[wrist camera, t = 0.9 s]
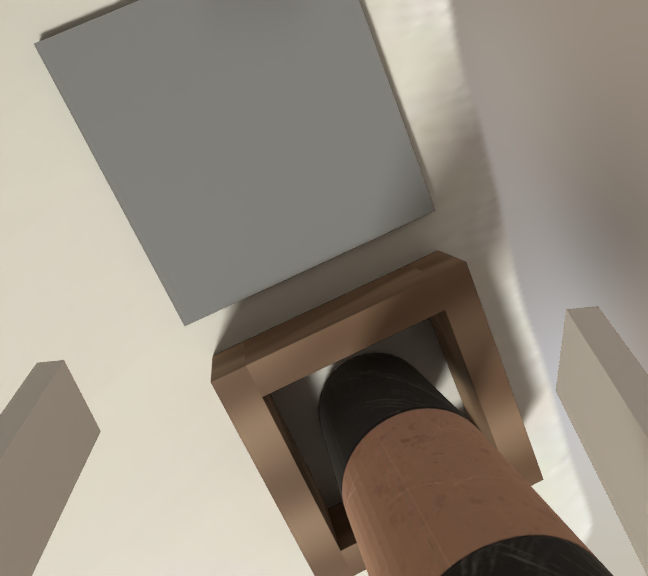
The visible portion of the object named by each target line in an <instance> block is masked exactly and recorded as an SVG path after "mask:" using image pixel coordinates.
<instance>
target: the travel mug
mask: <svg viewBox="0 0 648 576" xmlns="http://www.w3.org/2000/svg"><path fill="white" fill-rule="evenodd" d="M319 419H320V424H321V428H322V432H323V435H324V439H325V442H326V445H327V449H328V452H329V456H330V459H331V463H332V466H333V470H334V473H335V476H336V480H337V483H338V487H339V490H340V494H341V497H342V500H343V504H344V507H345V510H346V514H347V516H348V519H349V522H350V525H351V527H352V530H353V533H354V536H355V539H356V541H357V544H358V547H359V550H360V552H361V555H362V558H363V561H364V564H365V566H366V569H367V572H368V575H369V576H613V575H612V574H611V573H610V572H609V571H608V569H607V568H606V567H605V566H604V565H603V564H602V563H601V562H600V561H599V560H598V559H597V557H595V555H594V554H593V553H592V552H591V551H590V550H589V549H588V548H587V547H586V546H585V544H584V543H583V542H582V541H581V540H580V539H579V538H578V537H577V536H576V535H575V534H574V533H573V531H572V530H571V529H570V528H569V527H568V526H567V525H566V524H565V523H564V522H563V521H562V520H561V518H560V517H559V516H558V515H557V514H556V513H555V512H554V511H553V510H552V509H551V508H550V506H549V505H548V504H547V503H546V502H545V501H544V500H543V499H542V498H541V497H540V496H539V495H538V493H537V492H536V491H535V490H534V489H533V488H532V487H531V486H530V485H529V484H528V483H527V482H526V480H525V479H524V478H523V477H522V476H521V475H520V474H519V473H518V472H517V471H516V470H515V468H514V467H513V466H512V465H511V464H510V463H509V462H508V461H507V460H506V459H505V458H504V457H503V455H502V454H501V453H500V452H499V451H498V450H497V449H496V448H495V447H494V446H493V445H492V444H491V442H490V441H489V440H488V439H487V438H486V437H485V436H484V435H483V434H482V433H481V432H480V431H479V429H478V428H476V427H475V425H473V424H472V423H471V422H470V421H469V420H468V419H467V418H466V417H465V416H464V415H463V414H462V413H461V412H460V411H459V410H458V409H457V408H456V407H455V406H454V405H453V404H452V403H451V402H449V401H448V400H447V399H446V398H445V397H444V396H443V395H442V394H441V393H440V392H439V391H438V390H437V389H436V388H435V387H434V386H433V385H432V384H431V383H430V382H429V381H428V380H427V379H425V378H424V377H423V376H422V375H421V374H420V373H419V372H418V371H417V370H416V369H415V368H414V367H413V366H411V365H410V364H409V363H407V362H406V361H404V360H403V359H401V358H399V357H396V356H393V355H389V354H383V353H370V354H365V355H361V356H358V357H355V358H353V359H351V360H349V361H347V362H346V363H344V364H343V365H342V366H340V367H339V368H338V369H337V370H336V371H335V372H334V373H333V374H332V375H331V376H330V378H329V379H328V381H327V382H326V384H325V386H324V388H323V391H322V393H321V397H320V401H319Z"/></svg>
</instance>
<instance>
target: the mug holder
mask: <svg viewBox="0 0 648 576" xmlns="http://www.w3.org/2000/svg"><path fill="white" fill-rule="evenodd" d="M429 317H430V320H431V323H432V325H433V328H434V330H435V333H436V335H437V338H438V341H439V343H440V346H441V348H442V351H443V353H444V356H445V359H446V361H447V364H448V366H449V369H450V371H451V374H452V377H453V379H454V382H455V384H456V387H457V389H458V392H459V395H460V397H461V400H462V402H463V405H464V407H465V410H466V413H467V415H468V418H469V420H470V422H471V423H472V424H473V425H475V427H476V428H478V429H479V431H480V432H481V433H482V434H483V435H484V436H485V437H486V438H487V439H488V440H489V441H490V442H491V444H492V445H493V446H494V447H495V448H496V449H497V450H498V451H499V452H500V453H501V454H502V455H503V457H504V458H505V459H506V460H507V461H508V462H509V463H510V464H511V465H512V466H513V467H514V468H515V470H516V471H517V472H518V473H519V474H520V475H521V476H522V477H523V478H524V479H525V480H526V482H527V483H528V484H529V485H530V486H532V485H534V484H536V483H538V482H540V481H541V480H543V477H542V474H541V471H540V468H539V466H538V463H537V460H536V457H535V454H534V452H533V449H532V446H531V443H530V440H529V438H528V435H527V432H526V429H525V426H524V423H523V421H522V418H521V415H520V412H519V409H518V407H517V404H516V401H515V398H514V395H513V393H512V390H511V387H510V384H509V381H508V378H507V376H506V373H505V370H504V367H503V364H502V362H501V359H500V356H499V353H498V350H497V348H496V345H495V342H494V339H493V336H492V334H491V331H490V328H489V325H488V322H487V319H486V317H485V314H484V311H483V308H482V305H481V303H480V300H479V297H478V294H477V291H476V289H475V286H474V283H473V280H472V277H471V274H470V272H469V269H468V266H467V263H466V262H465V261H462V260H460V259H458V258H455V257H453V256H450V255H448V254H445V253H443V252H440V251H436V252H434V253H432V254H430V255H428V256H425V257H423V258H421V259H419V260H417V261H415V262H413V263H410V264H408V265H406V266H404V267H402V268H400V269H398V270H396V271H393V272H391V273H389V274H387V275H385V276H383V277H381V278H378V279H376V280H374V281H372V282H370V283H368V284H366V285H363V286H361V287H359V288H357V289H355V290H353V291H351V292H348V293H346V294H344V295H342V296H340V297H338V298H336V299H334V300H331V301H329V302H327V303H325V304H323V305H321V306H319V307H316V308H314V309H312V310H310V311H308V312H306V313H304V314H301V315H299V316H297V317H295V318H293V319H291V320H289V321H287V322H284V323H282V324H280V325H278V326H276V327H274V328H272V329H269V330H267V331H265V332H263V333H261V334H259V335H257V336H254V337H252V338H250V339H248V340H246V341H244V342H242V343H239V344H237V345H235V346H233V347H231V348H229V349H227V350H225V351H222V352H220V353H218V354H216V355H214V356H213V359H212V373H211V384H212V385H213V387H214V389H215V391H216V393H217V395H218V397H219V398H220V400H221V402H222V404H223V406H224V408H225V410H226V412H227V413H228V415H229V417H230V419H231V421H232V423H233V425H234V426H235V428H236V430H237V432H238V434H239V436H240V438H241V439H242V441H243V443H244V445H245V447H246V449H247V451H248V452H249V454H250V456H251V458H252V460H253V462H254V464H255V466H256V467H257V469H258V471H259V473H260V475H261V477H262V479H263V480H264V482H265V484H266V486H267V488H268V490H269V492H270V493H271V495H272V497H273V499H274V501H275V503H276V505H277V506H278V508H279V510H280V512H281V514H282V516H283V518H284V520H285V521H286V523H287V525H288V527H289V529H290V531H291V533H292V534H293V536H294V538H295V540H296V542H297V544H298V546H299V547H300V549H301V551H302V553H303V555H304V557H305V559H306V560H307V562H308V564H309V566H310V568H311V570H312V572H313V573H314V575H315V576H354V575H356V574H358V573H360V572H362V571H364V570H366V566H365V564H364V561H363V558H362V555H361V552H360V550H359V547H358V544H357V541H356V539H355V536H354V533H353V530H352V527H351V525H350V522H349V519H348V516H347V514H346V510H345V507H344V504H343V502H342V503H340V504H338V505H336V506H334V507H332V508H330V509H328V508H327V506H326V504H325V502H324V500H323V498H322V496H321V494H320V492H319V490H318V488H317V486H316V484H315V482H314V480H313V478H312V476H311V474H310V472H309V470H308V468H307V466H306V464H305V462H304V460H303V458H302V456H301V454H300V452H299V450H298V448H297V446H296V444H295V442H294V440H293V439H292V437H291V435H290V433H289V431H288V429H287V427H286V425H285V423H284V421H283V419H282V417H281V415H280V413H279V411H278V409H277V407H276V405H275V403H274V401H273V399H272V397H271V395H270V393H272V392H274V391H276V390H278V389H280V388H282V387H284V386H287V385H289V384H291V383H293V382H295V381H297V380H299V379H301V378H303V377H305V376H308V375H310V374H312V373H314V372H316V371H318V370H320V369H322V368H324V367H326V366H329V365H331V364H333V363H335V362H337V361H339V360H341V359H343V358H345V357H347V356H349V355H352V354H354V353H356V352H358V351H360V350H362V349H364V348H366V347H368V346H370V345H373V344H375V343H377V342H379V341H381V340H383V339H385V338H387V337H389V336H391V335H394V334H396V333H398V332H400V331H402V330H404V329H406V328H408V327H410V326H412V325H415V324H417V323H419V322H421V321H423V320H425V319H427V318H429Z"/></svg>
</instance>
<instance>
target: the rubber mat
mask: <svg viewBox="0 0 648 576" xmlns="http://www.w3.org/2000/svg"><path fill="white" fill-rule="evenodd" d="M34 45H35V47H36V49H37V51H38V53H39V55H40V56H41V58H42V60H43V62H44V64H45V66H46V68H47V70H48V71H49V73H50V75H51V77H52V79H53V81H54V83H55V85H56V86H57V88H58V90H59V92H60V94H61V96H62V98H63V99H64V101H65V103H66V105H67V107H68V109H69V111H70V113H71V114H72V116H73V118H74V120H75V122H76V124H77V126H78V128H79V129H80V131H81V133H82V135H83V137H84V139H85V141H86V142H87V144H88V146H89V148H90V150H91V152H92V154H93V156H94V157H95V159H96V161H97V163H98V165H99V167H100V169H101V171H102V172H103V174H104V176H105V178H106V180H107V182H108V184H109V185H110V187H111V189H112V191H113V193H114V195H115V197H116V199H117V200H118V202H119V204H120V206H121V208H122V210H123V212H124V214H125V215H126V217H127V219H128V221H129V223H130V225H131V227H132V228H133V230H134V232H135V234H136V236H137V238H138V240H139V242H140V243H141V245H142V247H143V249H144V251H145V253H146V255H147V257H148V258H149V260H150V262H151V264H152V266H153V268H154V270H155V272H156V273H157V275H158V277H159V279H160V281H161V283H162V285H163V286H164V288H165V290H166V292H167V294H168V296H169V298H170V300H171V301H172V303H173V305H174V307H175V309H176V311H177V313H178V315H179V316H180V318H181V320H182V322H183V324H184V326H186V325H189V324H191V323H193V322H195V321H197V320H199V319H202V318H204V317H206V316H208V315H210V314H212V313H214V312H217V311H219V310H221V309H223V308H225V307H227V306H230V305H232V304H234V303H236V302H238V301H240V300H243V299H245V298H247V297H249V296H251V295H253V294H256V293H258V292H260V291H262V290H264V289H266V288H269V287H271V286H273V285H275V284H277V283H279V282H282V281H284V280H286V279H288V278H290V277H292V276H295V275H297V274H299V273H301V272H303V271H305V270H308V269H310V268H312V267H314V266H316V265H318V264H321V263H323V262H325V261H327V260H329V259H331V258H334V257H336V256H338V255H340V254H342V253H344V252H347V251H349V250H351V249H353V248H355V247H357V246H360V245H362V244H364V243H366V242H368V241H370V240H372V239H375V238H377V237H379V236H381V235H383V234H385V233H388V232H390V231H392V230H394V229H396V228H398V227H401V226H403V225H405V224H407V223H409V222H411V221H414V220H416V219H418V218H420V217H422V216H424V215H427V214H429V213H431V212H433V211H435V208H434V205H433V202H432V200H431V197H430V194H429V191H428V189H427V186H426V183H425V180H424V177H423V175H422V172H421V169H420V166H419V164H418V161H417V158H416V155H415V153H414V150H413V147H412V144H411V142H410V139H409V136H408V133H407V131H406V128H405V125H404V122H403V120H402V117H401V114H400V111H399V109H398V106H397V103H396V100H395V97H394V95H393V92H392V89H391V86H390V84H389V81H388V78H387V75H386V73H385V70H384V67H383V64H382V62H381V59H380V56H379V53H378V51H377V48H376V45H375V42H374V40H373V37H372V34H371V31H370V29H369V26H368V23H367V20H366V17H365V15H364V12H363V9H362V6H361V4H360V1H359V0H138V1H136V2H133V3H131V4H129V5H126V6H124V7H121V8H119V9H116V10H114V11H112V12H109V13H107V14H104V15H102V16H100V17H97V18H95V19H92V20H90V21H88V22H85V23H83V24H80V25H78V26H76V27H73V28H71V29H68V30H66V31H64V32H61V33H59V34H56V35H54V36H52V37H49V38H47V39H44V40H42V41H40V42H37V43H35V44H34Z"/></svg>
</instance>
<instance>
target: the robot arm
mask: <svg viewBox="0 0 648 576" xmlns="http://www.w3.org/2000/svg"><path fill="white" fill-rule="evenodd" d="M556 392H557V394H558V396H559V398H560V400H561V402H562V404H563V406H564V408H565V410H566V412H567V415H568V417H569V418H570V420H571V423H572V425H573V426H574V429H575V431H576V433H577V434H578V437H579V439H580V441H581V443H582V445H583V447H584V449H585V451H586V453H587V455H588V457H589V459H590V461H591V463H592V465H593V467H594V469H595V471H596V473H597V475H598V477H599V479H600V481H601V483H602V485H603V487H604V489H605V491H606V493H607V495H608V497H609V499H610V501H611V503H612V505H613V507H614V509H615V511H616V513H617V515H618V517H619V519H620V521H621V523H622V525H623V527H624V529H625V531H626V533H627V535H628V537H629V539H630V541H631V543H632V546H633V548H634V549H635V552H636V554H637V556H638V558H639V560H640V562H641V564H642V565H643V568H644V570H645V572H646V574H647V576H648V374H647V373H646V371H645V370H644V369H643V368H642V366H641V365H640V363H639V362H638V361H637V359H636V358H635V356H634V355H633V354H632V352H631V351H630V350H629V348H628V347H627V345H626V344H625V343H624V341H623V340H622V339H621V337H620V336H619V334H618V333H617V332H616V330H615V329H614V327H613V326H612V325H611V323H610V322H609V321H608V319H607V318H606V316H605V315H604V314H603V312H602V311H601V310H600V308H599V307H598V306H597V307H586V308H576V309H566V315H565V322H564V331H563V338H562V347H561V354H560V362H559V370H558V378H557V385H556ZM99 434H100V429H99V427H98V425H97V423H96V421H95V419H94V417H93V415H92V414H91V412H90V410H89V408H88V406H87V404H86V402H85V400H84V398H83V396H82V394H81V392H80V390H79V388H78V386H77V384H76V383H75V381H74V379H73V377H72V375H71V373H70V371H69V369H68V367H67V365H66V363H65V361H64V360H60V361H50V362H40V363H37V364H36V365H35V366H34V368H33V369H32V371H31V372H30V374H29V375H28V376H27V378H26V379H25V381H24V382H23V383H22V385H21V386H20V388H19V389H18V391H17V392H16V393H15V395H14V396H13V398H12V399H11V400H10V402H9V403H8V405H7V406H6V408H5V409H4V410H3V412H2V413H1V415H0V576H32V574H33V572H34V570H35V568H36V566H37V564H38V562H39V559H40V557H41V555H42V553H43V551H44V549H45V547H46V545H47V543H48V541H49V538H50V536H51V534H52V532H53V530H54V528H55V526H56V524H57V522H58V520H59V517H60V515H61V513H62V511H63V509H64V507H65V505H66V503H67V501H68V499H69V496H70V494H71V492H72V490H73V488H74V486H75V484H76V482H77V480H78V478H79V475H80V473H81V471H82V469H83V467H84V465H85V463H86V461H87V459H88V457H89V454H90V452H91V450H92V448H93V446H94V444H95V442H96V440H97V438H98V436H99Z"/></svg>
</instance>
